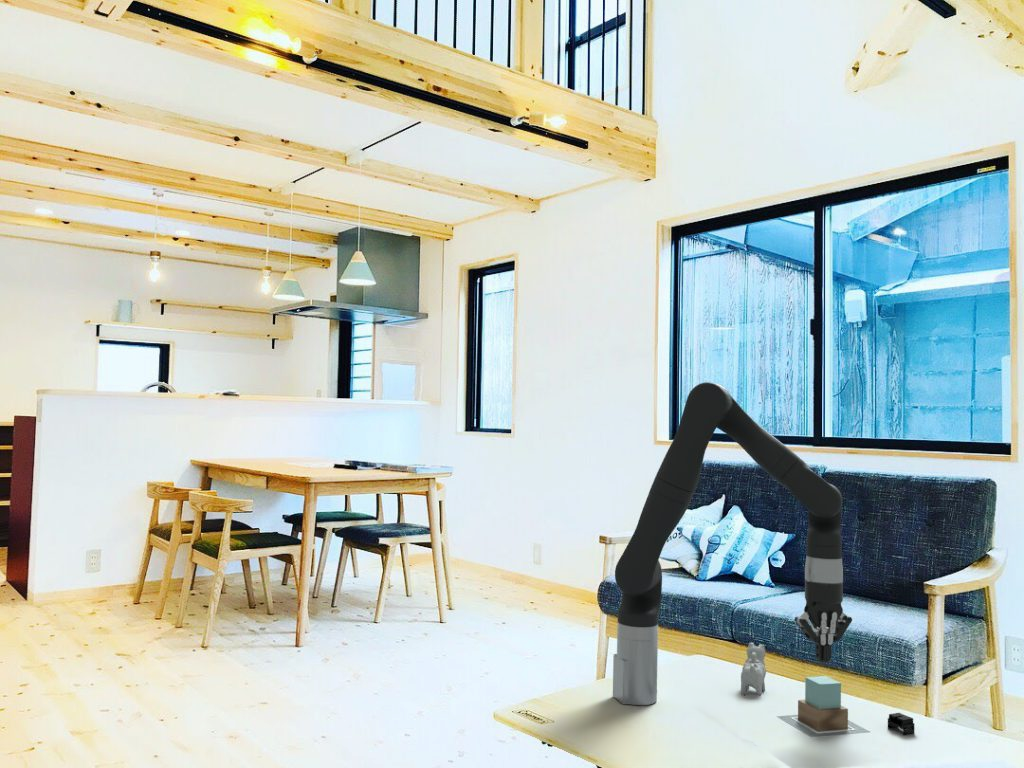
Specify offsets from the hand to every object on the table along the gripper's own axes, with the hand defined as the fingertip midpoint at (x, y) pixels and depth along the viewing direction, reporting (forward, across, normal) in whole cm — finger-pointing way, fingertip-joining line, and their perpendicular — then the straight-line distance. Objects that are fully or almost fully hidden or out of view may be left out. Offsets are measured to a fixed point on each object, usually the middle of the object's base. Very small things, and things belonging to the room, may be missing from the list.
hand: (823, 661), depth 175 cm
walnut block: (+13, 0, 0) cm, 13 cm away
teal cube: (+9, 0, 0) cm, 9 cm away
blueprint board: (+14, 0, 0) cm, 14 cm away
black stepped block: (+15, -14, +7) cm, 21 cm away
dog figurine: (+14, +1, -25) cm, 29 cm away
